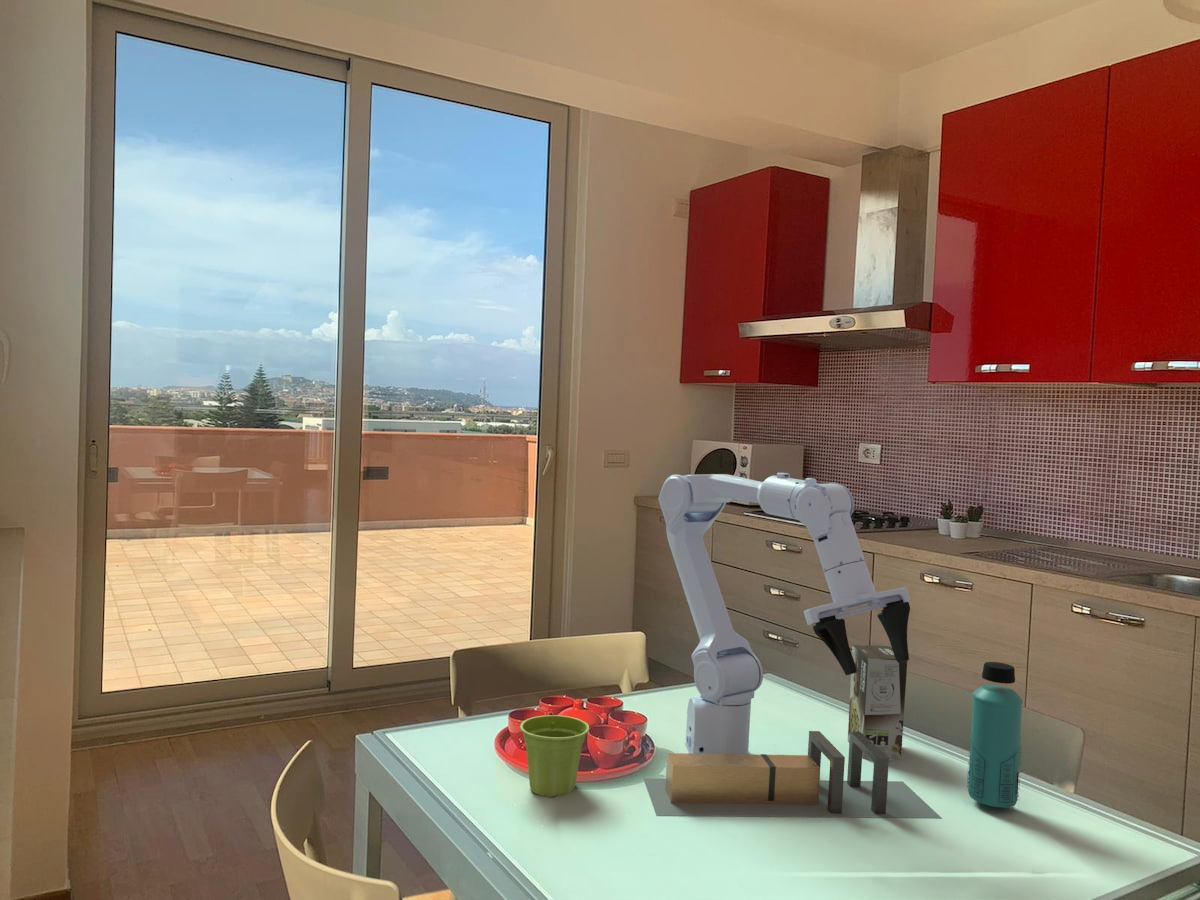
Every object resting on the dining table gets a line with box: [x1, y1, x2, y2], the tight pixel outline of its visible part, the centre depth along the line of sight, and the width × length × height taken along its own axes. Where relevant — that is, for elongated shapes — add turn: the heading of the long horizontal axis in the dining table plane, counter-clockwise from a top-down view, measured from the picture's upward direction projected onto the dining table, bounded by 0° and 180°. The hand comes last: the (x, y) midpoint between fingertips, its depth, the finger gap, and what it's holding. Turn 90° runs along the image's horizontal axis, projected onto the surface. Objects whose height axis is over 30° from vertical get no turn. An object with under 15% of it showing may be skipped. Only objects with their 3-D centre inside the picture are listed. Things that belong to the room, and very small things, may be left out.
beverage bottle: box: [966, 661, 1023, 808], centre depth 122 cm, size 6×7×20 cm
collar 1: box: [807, 730, 846, 814], centre depth 122 cm, size 2×10×8 cm, turn 5°
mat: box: [643, 777, 943, 819], centre depth 121 cm, size 38×12×1 cm, turn 95°
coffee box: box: [847, 644, 909, 761], centre depth 142 cm, size 9×6×16 cm
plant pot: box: [519, 714, 590, 798], centre depth 121 cm, size 9×9×9 cm
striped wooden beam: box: [665, 752, 821, 805], centre depth 121 cm, size 20×5×5 cm, turn 95°
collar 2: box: [846, 732, 890, 814], centre depth 122 cm, size 2×10×8 cm, turn 5°
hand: (877, 667), depth 116 cm, fingers open, 7 cm apart
